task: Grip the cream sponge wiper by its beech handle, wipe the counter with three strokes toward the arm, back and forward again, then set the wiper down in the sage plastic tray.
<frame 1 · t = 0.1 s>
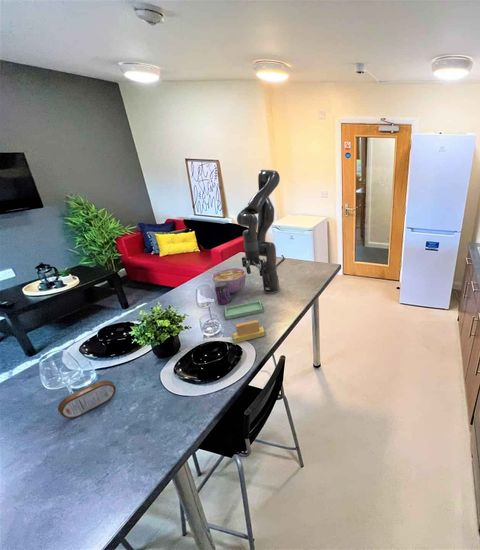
hand: (255, 274, 169), 17 cm above the table, tool pointing down, fingers open, 8 cm apart
tray: (244, 311, 164), on the table
beverage can: (224, 302, 173), on the table
bowl of food: (232, 290, 187), on the table
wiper: (249, 336, 143), on the table
tin: (93, 407, 104), on the table
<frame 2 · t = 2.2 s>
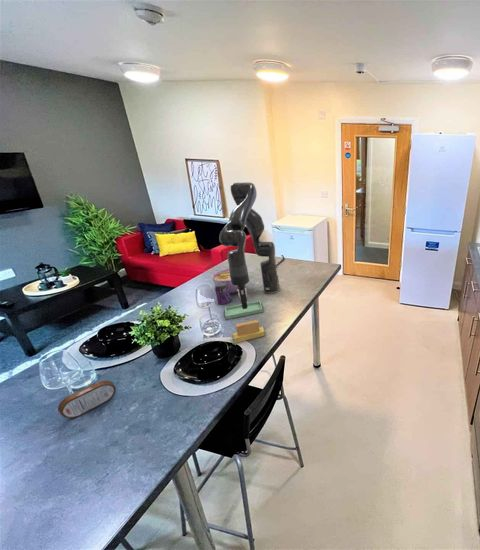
hand: (244, 304, 137), 18 cm above the table, tool pointing down, fingers open, 8 cm apart
nothing on the table moved.
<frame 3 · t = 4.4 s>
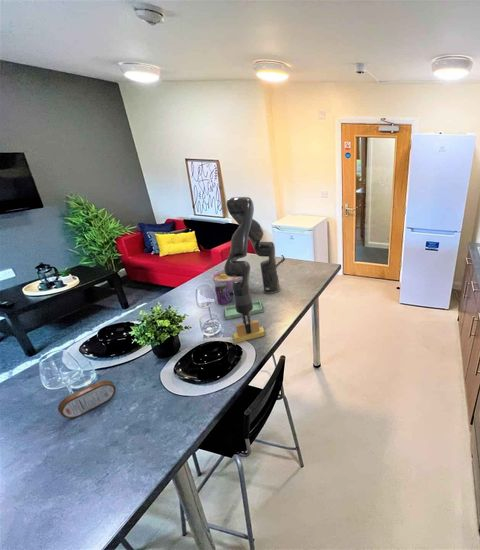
hand: (248, 331, 142), 3 cm above the table, tool pointing down, fingers closed on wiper, 2 cm apart
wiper: (249, 336, 143), on the table, touching gripper
everything else where it was.
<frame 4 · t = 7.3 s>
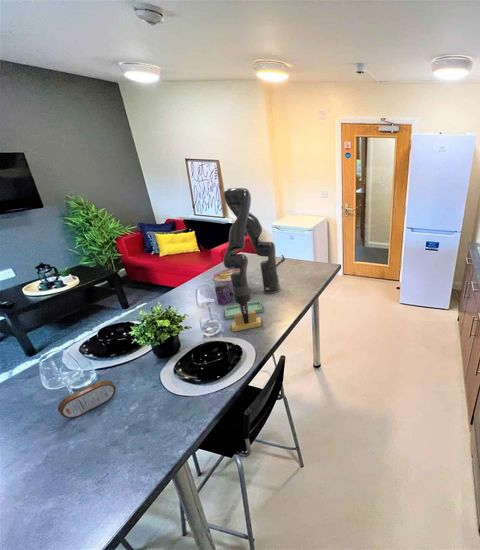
hand: (246, 321, 150), 3 cm above the table, tool pointing down, fingers closed on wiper, 2 cm apart
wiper: (247, 326, 151), on the table, touching gripper
everything else where it was.
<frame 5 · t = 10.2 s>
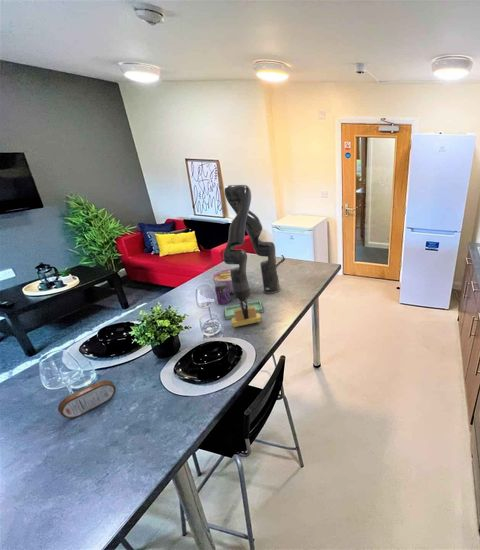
hand: (246, 316, 151), 5 cm above the table, tool pointing down, fingers closed on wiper, 2 cm apart
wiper: (246, 321, 152), point 2 cm above the table, touching gripper
everything else where it was.
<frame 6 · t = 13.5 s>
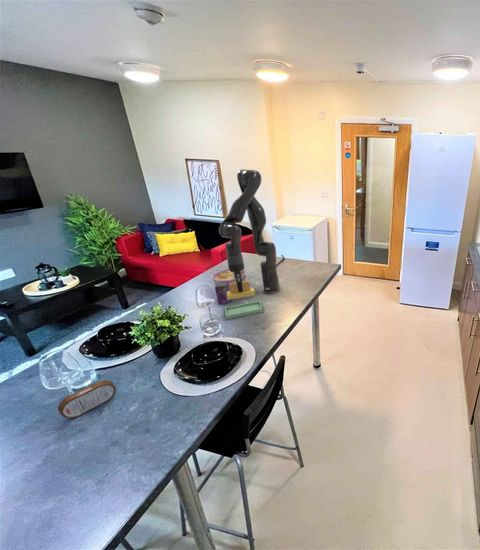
hand: (240, 290, 159), 13 cm above the table, tool pointing down, fingers closed on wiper, 2 cm apart
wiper: (241, 295, 160), point 10 cm above the table, touching gripper
everything else where it was.
when the fingers open (4 cm above the table, at t = 16.0 s): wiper stays where it is, resting on tray.
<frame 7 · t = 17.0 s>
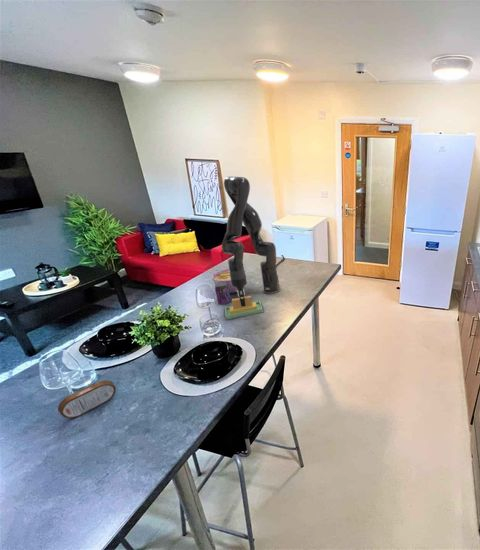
hand: (242, 302, 162), 6 cm above the table, tool pointing down, fingers open, 8 cm apart
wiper: (243, 310, 164), point 1 cm above the table, touching tray
everything else where it was.
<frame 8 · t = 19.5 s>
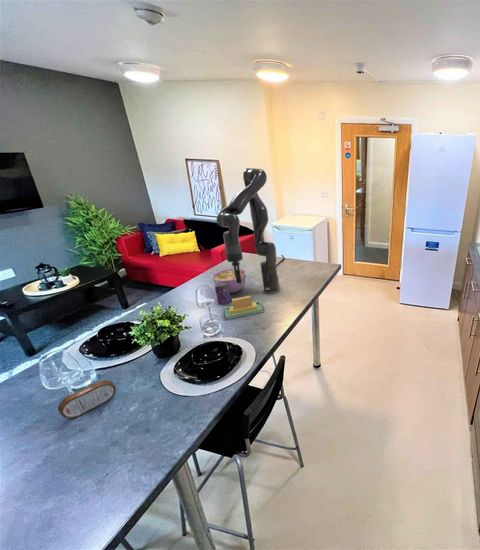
hand: (238, 279, 156), 20 cm above the table, tool pointing down, fingers open, 8 cm apart
nothing on the table moved.
at the end: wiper inside the target area in the tray (0.2 cm from its centre), point 0.6 cm above the tray's base; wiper tilted 0°; the gripper is holding nothing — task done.
